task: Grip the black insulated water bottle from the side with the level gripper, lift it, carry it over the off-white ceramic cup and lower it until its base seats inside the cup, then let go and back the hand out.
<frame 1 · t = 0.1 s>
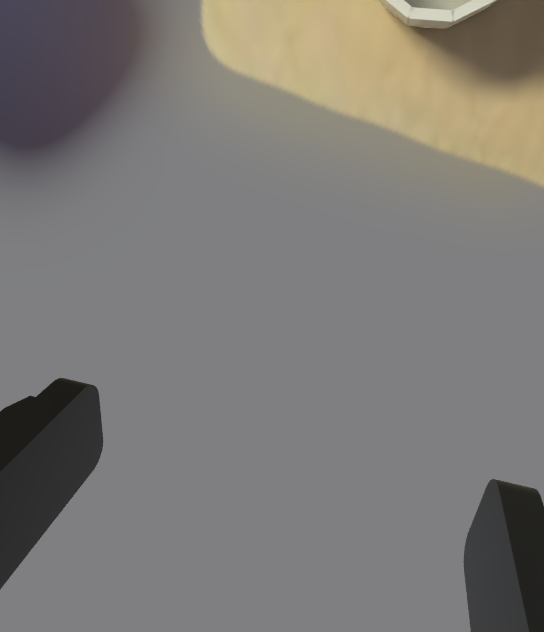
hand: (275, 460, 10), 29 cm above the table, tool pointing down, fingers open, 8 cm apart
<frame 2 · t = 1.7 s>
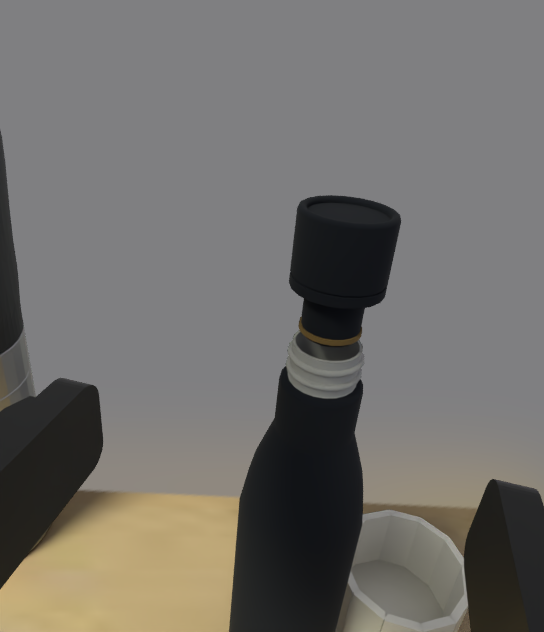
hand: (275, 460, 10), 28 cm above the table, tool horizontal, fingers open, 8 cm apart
ceramic cup: (387, 615, 36), on the table
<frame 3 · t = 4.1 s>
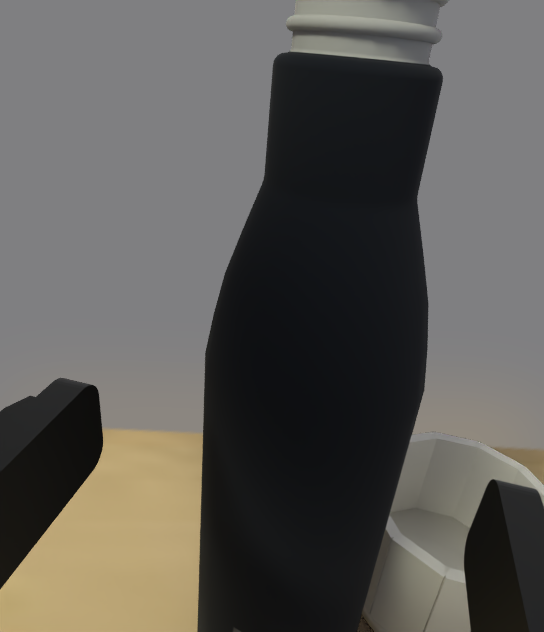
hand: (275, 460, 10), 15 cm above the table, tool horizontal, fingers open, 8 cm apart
ceramic cup: (433, 582, 25), on the table
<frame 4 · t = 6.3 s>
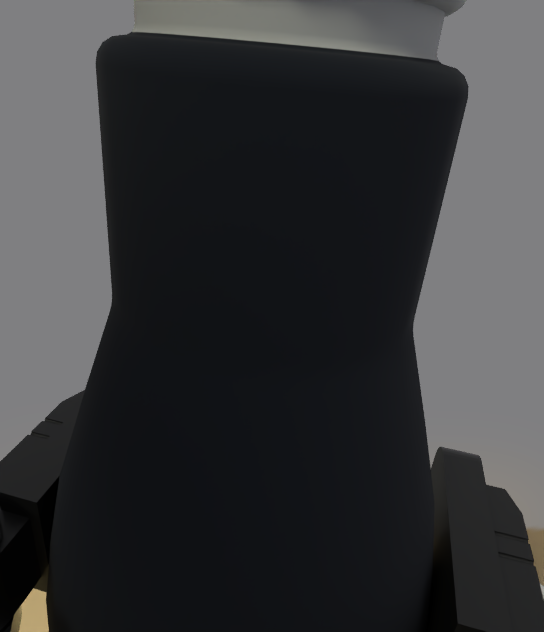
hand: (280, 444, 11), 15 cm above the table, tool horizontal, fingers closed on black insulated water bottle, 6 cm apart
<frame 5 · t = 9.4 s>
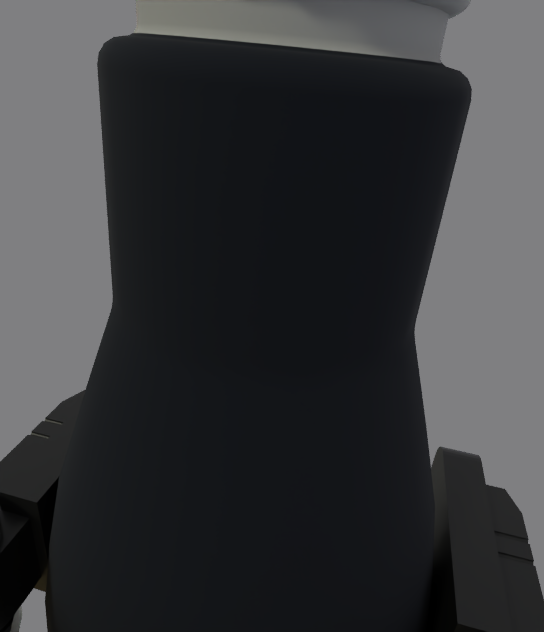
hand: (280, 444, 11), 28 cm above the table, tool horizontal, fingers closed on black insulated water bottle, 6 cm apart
when the fingers open (17 cm above the table, at t = 12.6 s): black insulated water bottle drops 1 cm, resting on ceramic cup.
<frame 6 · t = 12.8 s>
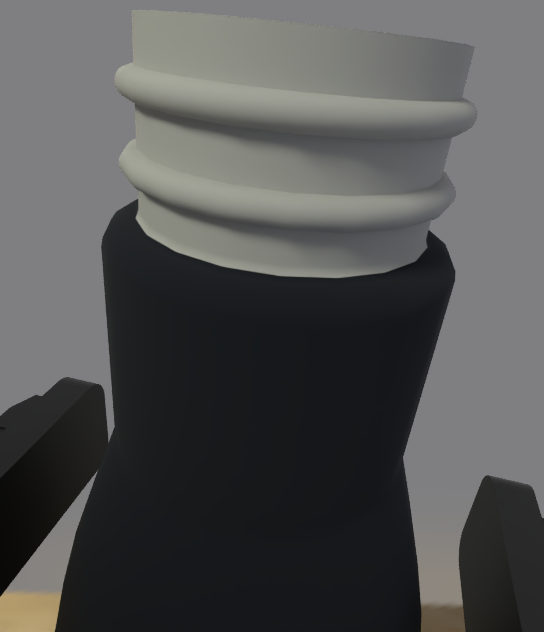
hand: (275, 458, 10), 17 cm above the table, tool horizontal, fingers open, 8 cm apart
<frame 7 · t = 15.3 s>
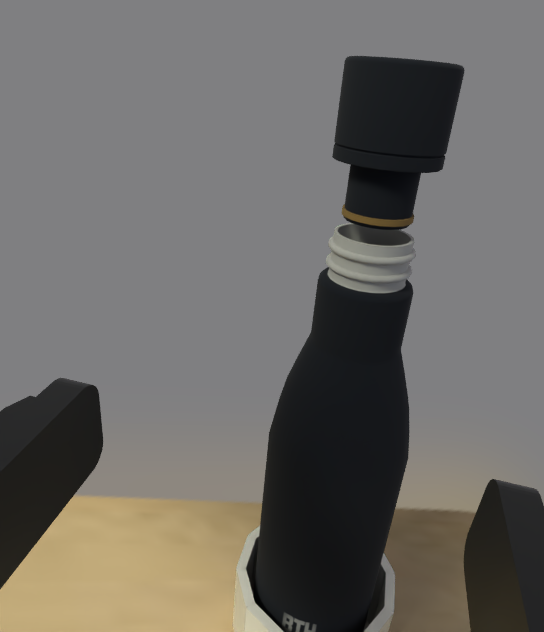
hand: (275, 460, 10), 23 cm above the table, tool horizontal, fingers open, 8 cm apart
black insulated water bottle: (304, 631, 30), point 1 cm above the table, touching ceramic cup
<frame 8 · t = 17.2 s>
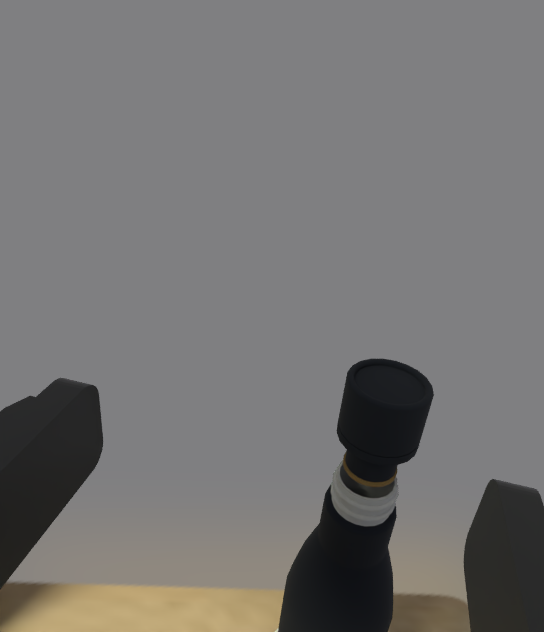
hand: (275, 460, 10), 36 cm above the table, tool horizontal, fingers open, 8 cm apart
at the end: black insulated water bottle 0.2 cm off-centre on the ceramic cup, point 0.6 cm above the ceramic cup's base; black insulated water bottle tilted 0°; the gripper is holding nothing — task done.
